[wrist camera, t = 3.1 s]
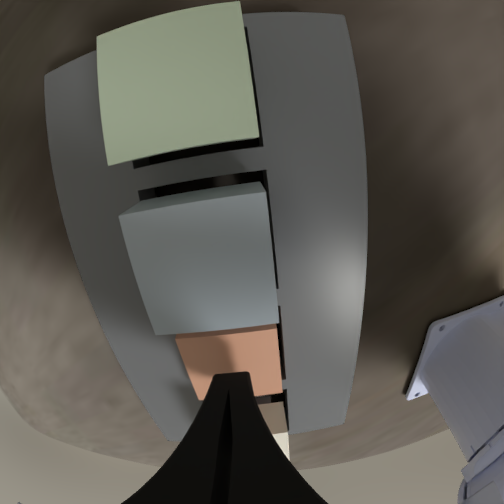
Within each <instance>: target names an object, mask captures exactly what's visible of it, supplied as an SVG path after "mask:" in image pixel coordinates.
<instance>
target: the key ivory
mask: <svg viewBox="0 0 504 504" xmlns="http://www.w3.org/2000/svg"><path fill="white" fill-rule="evenodd" d="M255 399H256V402H257V404H258V407H259V409H260V411H261V413H262V416H263V418H264V420H265V422H266V424H267V426H268V428H269V430H270V431H271V433H272V435H273V437H274V438H275V440H276V442H277V443H278V445H279V446H280V448H281V449H282V451H283V453H284V454H285V455H286V457H287V458H288V460H289V443H288V430H287V424H286V418H285V412H284V406H283V402H276V403H271V397H270V396H263V397H255ZM289 461H290V460H289Z"/></svg>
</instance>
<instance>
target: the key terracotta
mask: <svg viewBox="0 0 504 504" xmlns="http://www.w3.org/2000/svg"><path fill="white" fill-rule="evenodd" d="M175 340H176V343H177V346H178V349H179V351H180V354H181V357H182V359H183V362H184V365H185V367H186V370H187V372H188V375H189V377H190V380H191V382H192V385H193V387H194V389H195V392H196V394H197V397H198V399H199V400H204V398H205V396H206V394H207V391H208V389H209V386H210V384H211V381H212V378H213V376H214V375H215V374H220V373H232V372H243V371H247V372H249V373H250V376H251V381H252V386H253V391H254V396H260V395H269V394H276V393H283V391H282V379H281V368H280V357H279V346H278V335H277V327H276V323H275V324H267V325H260V326H252V327H244V328H235V329H226V330H216V331H206V332H194V333H182V334H176V337H175Z"/></svg>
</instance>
